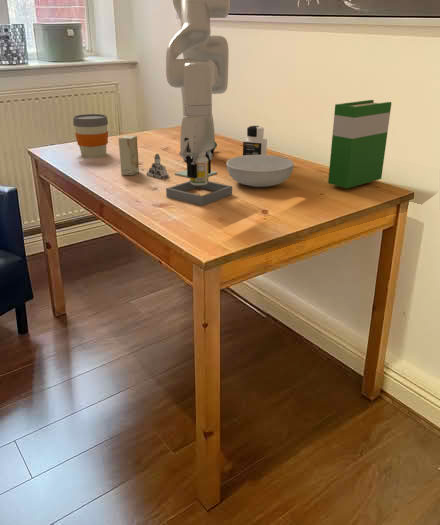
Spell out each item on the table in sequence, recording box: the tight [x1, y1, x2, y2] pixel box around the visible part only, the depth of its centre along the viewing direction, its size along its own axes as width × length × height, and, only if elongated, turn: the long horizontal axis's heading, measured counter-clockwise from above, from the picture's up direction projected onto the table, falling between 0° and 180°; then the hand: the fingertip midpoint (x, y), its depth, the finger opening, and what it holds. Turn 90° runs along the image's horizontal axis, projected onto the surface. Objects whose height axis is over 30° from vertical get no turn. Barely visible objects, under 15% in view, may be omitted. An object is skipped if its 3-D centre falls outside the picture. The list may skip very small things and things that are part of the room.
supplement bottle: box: [189, 151, 209, 186], centre depth 147 cm, size 5×5×10 cm
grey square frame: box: [165, 180, 233, 207], centre depth 149 cm, size 14×14×2 cm
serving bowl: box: [225, 154, 295, 188], centre depth 161 cm, size 21×21×7 cm
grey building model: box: [146, 153, 170, 180], centre depth 169 cm, size 9×9×8 cm
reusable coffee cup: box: [72, 113, 109, 159], centre depth 192 cm, size 13×13×15 cm
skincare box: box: [118, 134, 140, 176], centre depth 171 cm, size 6×4×12 cm
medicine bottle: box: [242, 125, 268, 156], centre depth 190 cm, size 7×7×12 cm
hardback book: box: [327, 99, 392, 189], centre depth 160 cm, size 18×7×24 cm, turn 129°
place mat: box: [174, 169, 218, 179], centre depth 172 cm, size 10×10×1 cm
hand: (199, 174), depth 148 cm, fingers closed on supplement bottle, 5 cm apart
